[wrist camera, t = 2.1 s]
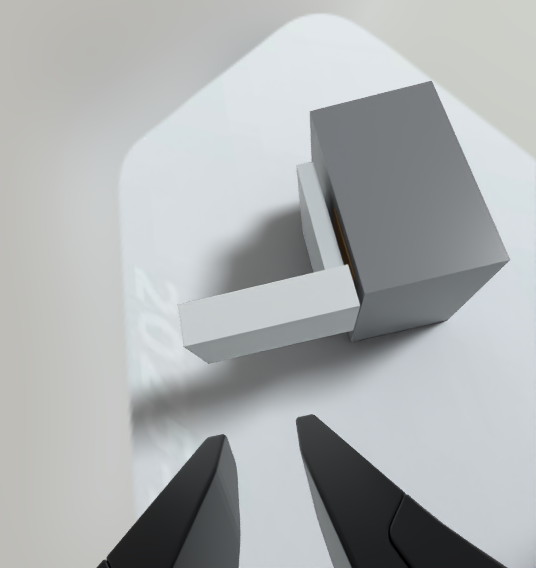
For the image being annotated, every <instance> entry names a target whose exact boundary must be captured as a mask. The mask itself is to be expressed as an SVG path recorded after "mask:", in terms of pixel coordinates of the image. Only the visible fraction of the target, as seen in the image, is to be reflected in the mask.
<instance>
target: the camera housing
mask: <svg viewBox="0 0 536 568" xmlns="http://www.w3.org/2000/svg"><path fill="white" fill-rule="evenodd" d="M310 128H311V155H312V161H314V165H315V168H316V172H317V175H318V179H319V182H320V185H321V189H322V192H323V196H324V199H325V203H326V206H327V209H328V213H329V216H330V220H331V223H332V227H333V230H334V233H335V237H336V240H337V244H338V247H339V251H340V254H341V257H342V261H343V264H344V265H348V266H349V269H350V273H351V276H352V280H353V283H354V286H355V290H356V293H357V296H358V300H359V303H360V308H359V312H358V315H357V319H356V322H355V326H354V329H353V331H348V334H349V337H350V341H351V342H354V341H359V340H363V339H367V338H372V337H376V336H380V335H385V334H389V333H394V332H398V331H402V330H407V329H411V328H415V327H420V326H424V325H428V324H433V323H437V322H441V321H446V320H448V319H449V318H450V317H451V316H452V315H453V314H454V313H455V312H456V311H458V310H459V309H460V308H461V307H462V306H463V305H464V304H465V303H466V302H467V301H468V300H469V299H470V298H471V297H472V296H473V295H474V294H475V293H476V292H477V291H478V290H479V289H480V288H481V287H482V286H484V285H485V284H486V283H487V282H488V281H489V280H490V279H491V278H492V277H493V276H494V275H495V274H496V273H497V272H498V271H499V270H500V269H501V268H502V267H503V266H504V265H505V264H506V263H507V262H508V261H510V258H509V256H508V254H507V251H506V249H505V247H504V245H503V242H502V240H501V238H500V235H499V233H498V231H497V229H496V226H495V224H494V222H493V219H492V217H491V215H490V213H489V210H488V208H487V206H486V204H485V201H484V199H483V197H482V194H481V192H480V190H479V188H478V185H477V183H476V181H475V178H474V176H473V174H472V172H471V169H470V167H469V165H468V162H467V160H466V158H465V156H464V153H463V151H462V149H461V146H460V144H459V142H458V140H457V137H456V135H455V133H454V131H453V128H452V126H451V124H450V121H449V119H448V117H447V115H446V112H445V110H444V108H443V105H442V103H441V101H440V99H439V96H438V94H437V92H436V89H435V87H434V85H433V83H432V81H429V82H425V83H421V84H417V85H413V86H409V87H405V88H401V89H397V90H393V91H389V92H385V93H381V94H377V95H373V96H369V97H365V98H361V99H357V100H353V101H349V102H345V103H341V104H337V105H333V106H329V107H325V108H321V109H317V110H313V111H310Z"/></svg>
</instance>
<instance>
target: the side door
mask: <svg viewBox="0 0 536 568" xmlns="http://www.w3.org/2000/svg"><path fill="white" fill-rule="evenodd" d="M296 167H297V177H298V188H299V199H300V209H301V220H302V231H303V235H304V239H305V243H306V246H307V250H308V254H309V258H310V262H311V265H312V269H313V273H310V274H305V275H301V276H297V277H293V278H288V279H284V280H280V281H276V282H271V283H267V284H263V285H259V286H255V287H250V288H246V289H242V290H238V291H233V292H229V293H225V294H221V295H216V296H212V297H208V298H204V299H200V300H195V301H191V302H187V303H183V304H178V311H179V318H180V325H181V332H182V339H183V347H185V348H186V349H188V350H189V351H191V352H192V353H194V354H195V355H197V356H198V357H200V358H201V359H202V360H204V361H205V362H207V363H208V364H210V363H214V362H218V361H223V360H227V359H231V358H236V357H240V356H244V355H249V354H253V353H257V352H262V351H266V350H270V349H275V348H279V347H283V346H288V345H292V344H296V343H301V342H305V341H309V340H314V339H318V338H322V337H327V336H331V335H335V334H340V333H344V332H348V331H353V329H354V326H355V322H356V319H357V315H358V312H359V308H360V303H359V300H358V296H357V293H356V290H355V286H354V283H353V280H352V276H351V273H350V269H349V266H348V265H344V264H343V261H342V257H341V254H340V251H339V247H338V244H337V240H336V237H335V233H334V230H333V227H332V223H331V220H330V216H329V213H328V209H327V206H326V203H325V199H324V196H323V192H322V189H321V185H320V182H319V179H318V175H317V172H316V168H315V165H314V161H312V162H308V163H304V164H300V165H296Z"/></svg>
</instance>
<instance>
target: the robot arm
mask: <svg viewBox="0 0 536 568" xmlns="http://www.w3.org/2000/svg"><path fill="white" fill-rule="evenodd" d="M296 425H297V432H298V439H299V446H300V451H301V455H302V459H303V463H304V467H305V471H306V475H307V479H308V483H309V487H310V491H311V495H312V499H313V503H314V507H315V511H316V515H317V519H318V522H319V525H320V528H321V531H322V534H323V537H324V540H325V543H326V546H327V549H328V552H329V555H330V558H331V560H332V563H333V566H334V568H507V567H506V566H504V565H503V564H501V563H500V562H498V561H497V560H495V559H494V558H492V557H491V556H489V555H488V554H486V553H485V552H483V551H482V550H480V549H479V548H477V547H476V546H474V545H473V544H471V543H470V542H468V541H467V540H466V539H464V538H463V537H461V536H460V535H459V534H457V533H456V532H454V531H453V530H451V529H450V528H449V527H447V526H446V525H444V524H443V523H442V522H440V521H439V520H438V519H437V518H435V517H434V516H433V515H432V514H430V513H429V512H428V511H427V510H425V509H424V508H423V507H422V506H421V505H419V504H418V503H417V502H416V501H415V500H414V499H412V498H411V497H410V496H409V495H407V494H405V492H403V491H402V490H401V489H400V488H399V487H398V486H396V485H395V484H394V483H393V482H392V481H391V480H390V479H388V478H387V477H386V476H385V475H384V474H383V473H381V472H380V471H379V470H378V469H377V468H376V467H374V466H373V465H372V464H371V463H370V462H369V461H367V460H366V459H365V458H364V457H363V456H362V455H360V454H359V453H358V452H357V451H356V450H355V449H353V448H352V447H351V446H350V445H349V444H348V443H346V442H345V441H344V440H343V439H342V438H341V437H339V436H338V435H337V434H336V433H335V432H334V431H332V430H331V429H330V428H329V427H328V426H327V425H325V424H324V423H323V422H322V421H321V420H320V419H318V418H317V417H316V416H315V415H313V414H311V415H307V416H302V417H298V418H297V419H296ZM239 553H240V513H239V496H238V478H237V468H236V463H235V459H234V457H233V454H232V451H231V448H230V445H229V442H228V439H227V437H226V436H225V435H224V434H221V435H217V436H212V437H208V438H207V439H206V440H205V441H204V442H203V443H202V445H201V446H200V447H199V448H198V449H197V450H196V452H195V453H194V454H193V455H192V456H191V458H190V459H189V460H188V461H187V462H186V463H185V465H184V466H183V467H182V468H181V469H180V471H179V472H178V473H177V474H176V475H175V477H174V478H173V479H172V480H171V481H170V482H169V484H168V485H167V486H166V487H165V488H164V490H163V491H162V492H161V493H160V494H159V496H158V497H157V498H156V499H155V500H154V501H153V503H152V504H151V505H150V506H149V507H148V509H147V510H146V511H145V512H144V513H143V514H142V516H141V517H140V518H139V519H138V520H137V522H136V523H135V524H134V525H133V526H132V528H131V529H130V530H129V531H128V532H127V534H126V535H125V536H124V537H123V538H122V539H121V541H120V542H119V543H118V544H117V545H116V546H115V548H114V549H113V550H112V551H111V552H110V554H109V555H108V556H107V560H103V561H102V562H101V563H100V564H99V566H98V567H97V568H239Z"/></svg>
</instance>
